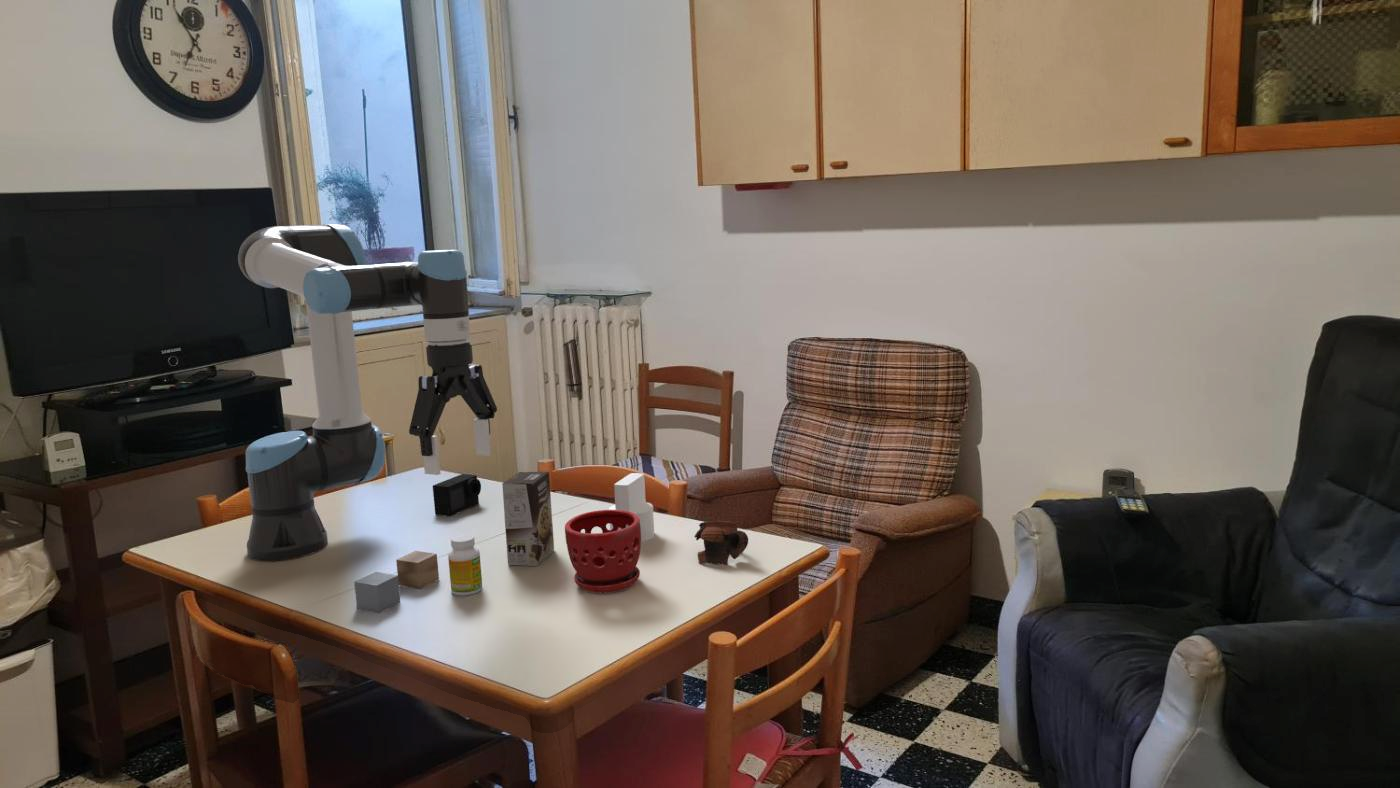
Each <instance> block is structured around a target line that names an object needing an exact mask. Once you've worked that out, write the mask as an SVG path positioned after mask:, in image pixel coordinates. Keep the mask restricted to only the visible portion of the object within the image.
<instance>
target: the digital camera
mask: <svg viewBox="0 0 1400 788" xmlns="http://www.w3.org/2000/svg"><path fill="white" fill-rule="evenodd" d="M481 490H482V484H481V481H480V480H479V478H478V476H477V474H467V473H461V474H459V475H455V476H453V477H451V478H448V479H446V480H445V479H444V480H443V481H441V482H438V483H435V484H433V485H432V493H433V495H432V496H433V504H434V505H433V507H434V515H435V514H436V516H442V515H446V516H445V517H452V516H454V515H456V513H457V514H459V513H461V512H463V510H464V511H466V510H467V509H470V508H472V507H474V506H477V505H479V504H480V502H479V501H480V500H479V495H480V494H481ZM458 512H459V513H458ZM451 515H452V516H451Z"/></svg>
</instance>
